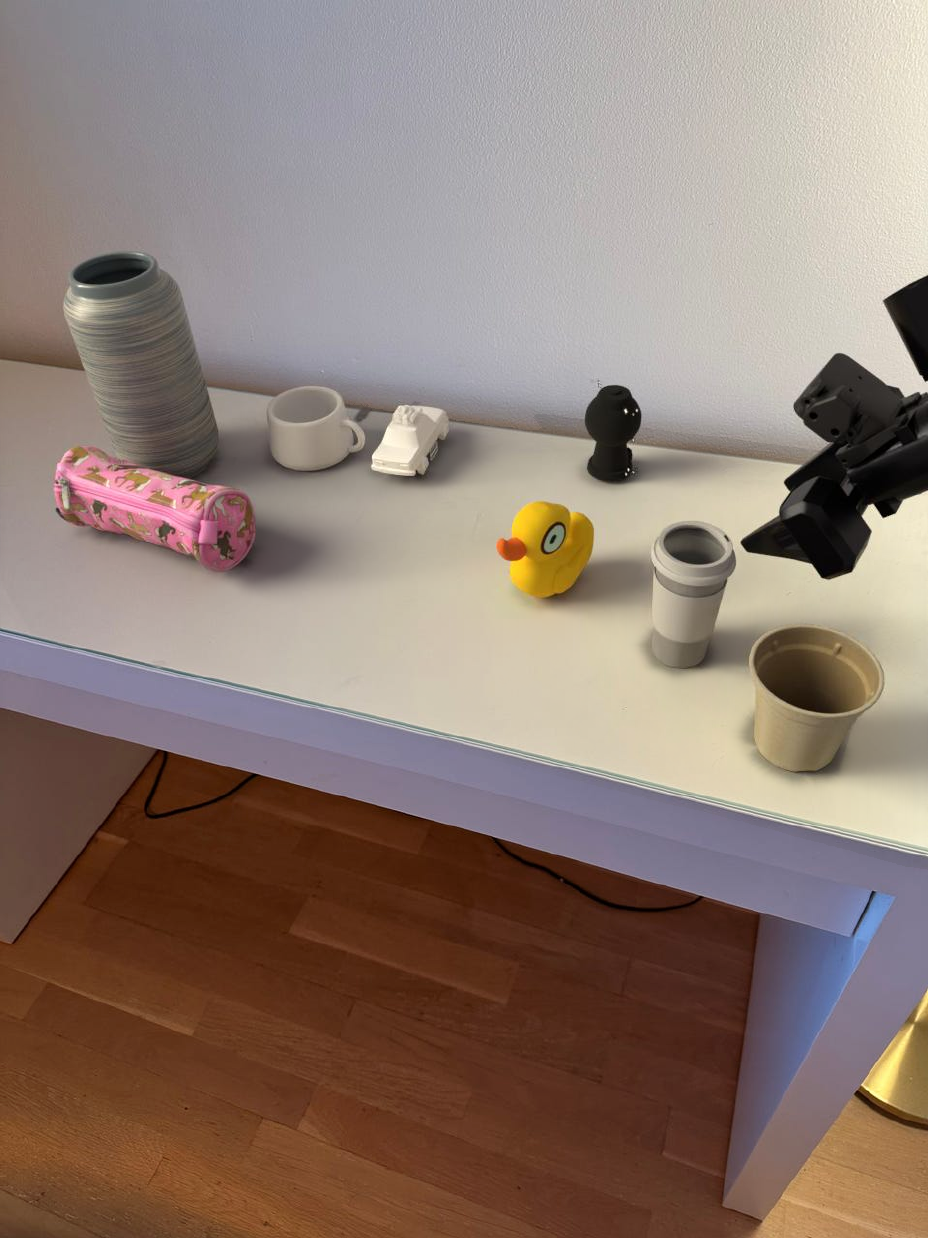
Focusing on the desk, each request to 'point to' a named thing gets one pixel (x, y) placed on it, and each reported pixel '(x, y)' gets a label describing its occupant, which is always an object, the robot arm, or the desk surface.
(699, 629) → the cup
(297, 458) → the mug
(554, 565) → the duckling
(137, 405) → the vase
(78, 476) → the pencil case
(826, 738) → the flower pot
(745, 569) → the desk surface
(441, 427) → the toy car
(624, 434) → the gumball machine
